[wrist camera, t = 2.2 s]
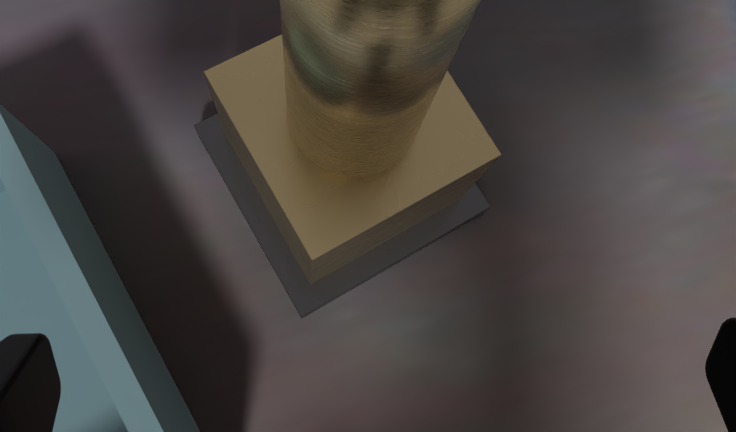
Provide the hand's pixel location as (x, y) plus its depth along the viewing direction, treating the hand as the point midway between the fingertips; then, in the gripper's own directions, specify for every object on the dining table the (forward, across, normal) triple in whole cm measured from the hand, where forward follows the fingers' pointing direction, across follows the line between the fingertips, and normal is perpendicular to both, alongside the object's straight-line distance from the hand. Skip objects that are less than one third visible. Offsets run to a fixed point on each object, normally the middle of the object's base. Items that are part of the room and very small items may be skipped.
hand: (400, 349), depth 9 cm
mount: (+13, 0, +4) cm, 14 cm away
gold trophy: (+12, 0, +4) cm, 13 cm away
